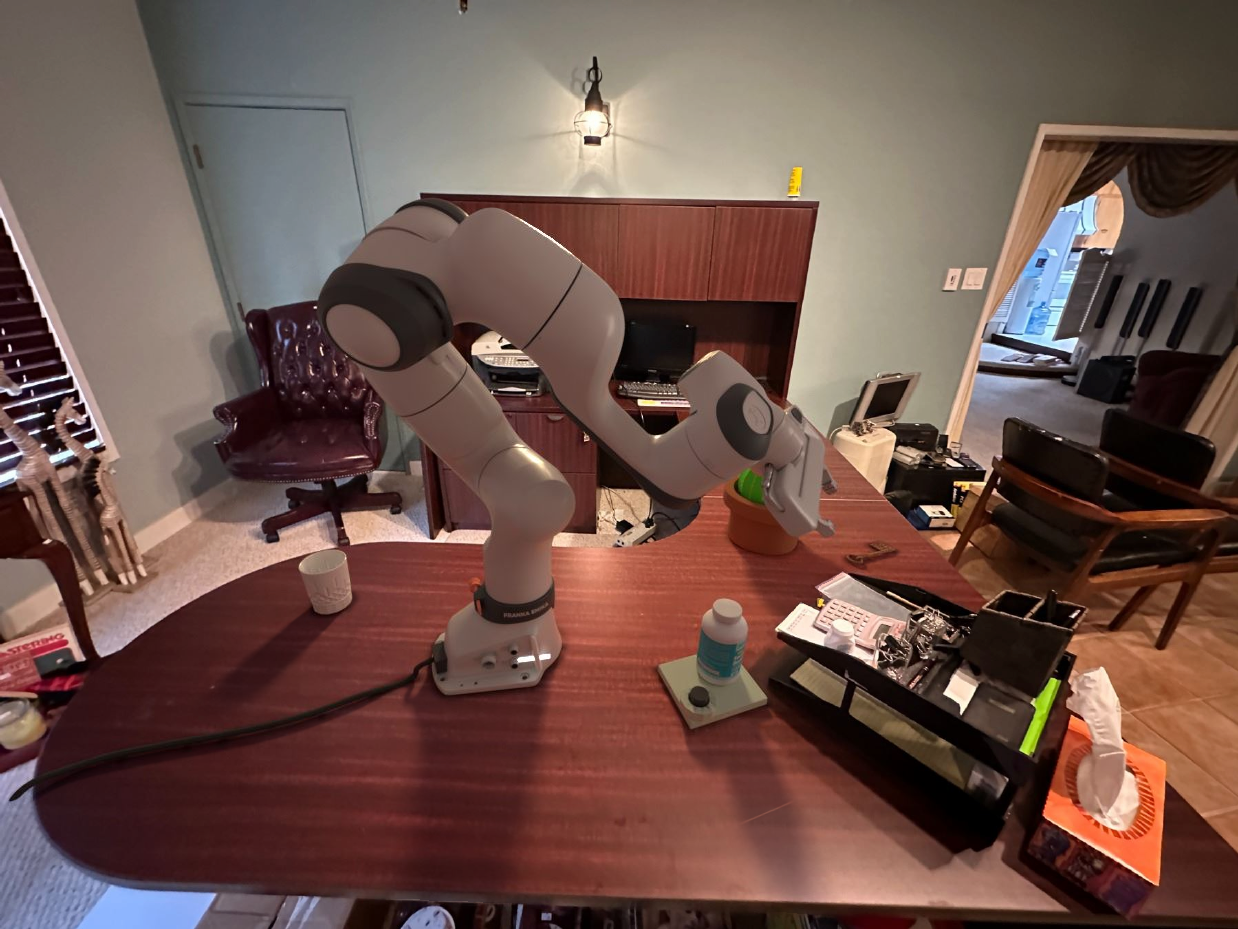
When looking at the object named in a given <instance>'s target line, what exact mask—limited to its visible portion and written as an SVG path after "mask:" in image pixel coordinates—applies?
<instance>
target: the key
mask: <svg viewBox="0 0 1238 929" xmlns="http://www.w3.org/2000/svg"><path fill="white" fill-rule="evenodd" d="M869 545H870V547H873V548H874V549H877V550H878V551H875V552H870V553H865V554H861V555H859V556H858V555H855V554H848V555H846V559H847V560H848V561H849V562H851V563H852V564H856V565H861V564H863V563H864V559H869V558H871V557H876V556H879V555H880V556H881V555H883V554H887V553H891V552H895V551H897V547H891V546H889V545H887V544H885V543H884V542H882V541H878V542H874V543H870V544H869ZM852 558H854V559H855V560H854V559H852ZM858 560H859V561H858Z"/></svg>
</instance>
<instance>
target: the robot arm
mask: <svg viewBox="0 0 1238 929" xmlns="http://www.w3.org/2000/svg"><path fill="white" fill-rule="evenodd" d="M316 316H317V320H318V323H319V325H320V328H321V329H322V331H323V333H324V335H325V336H326V338H328V340H329V341H330V342H331V343H332V344H333V346H335V348H336V349H337V350H338V351H339V352H340V353H342V354H343V355H344V356H345V357H347V358H348V359H349V360H351V361H352V362H354V363H355V365H356V366H357V368H358V369H359V371H360V372H361V373H362V375H363V376H364V378H365V379H366V380H367V382H368V383H369V385H370V386H371V387H372V388H373V390H374V391H375V393H376V394H377V395H378V396H379V398H381V400H383V402H384V403H385V404H386V405H387V407H389V408H390V409H391V411H392V412H393V413H394V414H395V415H396V416H397V417H398V418H399V419H400V420H401V421H402V422H403V423H404V424H405V425H406V426H407V427H408V428H409V429H410V430H411V431H412V432H413V433H414V434H415V435H416V436H417V437H418V438H419V439H420V440H421V441H422V442H423V443H424V444H425V445H426V446H427V447H428V449H430V451H432V453H434V454H435V456H437V457H438V458H439V459H440V460H441V461H442V462H443V463H444V464H446V466H447V467H448V468H449V469H450V470H452V472H454V474H456V476H458V477H459V479H461V480H462V481H463V483H465V485H467V486H468V488H470V490H471V491H472V492H473V493H474V494H475V495H476V496H477V497H478V498H479V500H480V501H481V502H482V503H483V504H484V505H485V507H486V509H487V512H488V514H489V517H490V521H491V529H490V535H488V537H487V538H486V539H485V541H484V543H483V545H482V548H481V552H482V562H483V576H484V581H483V582H481V579H480V578H479V577H472V578H470V579H469V581H468V587H469V589H468V590H469V592H470V593H472V594H473V596H472V597H473V600H472V601H471V602H470V603H468V604H467V605H466V606H464V607H463V608H461V609H460V610H459V611H457V612H456V613H454V614H453V615H452V616H451V617H450V619H449V620H448V622H447V625H446V627H445V631H444V632H442V633H440V634H439V636H438V637H437V638H436V640H435V643H434V644H431V645H430V646H431V648H430V649H431V657H430V658H427V659H425V660H423V661H420V662H419V663H418V664H417V665H415V666H414V667H413V671H412V673H411V674H410V675H408V676H406V677H405V678H403V679H400V680H399V681H395V682H393V683H389V684H386V685H383V686H378V687H376V688H370V689H367V690H364V691H362V692H358V693H356V694H353V695H351V696H348V697H345V698H342V699H339V700H336V701H334V702H331V703H328V704H326V705H323V706H320V707H317V708H314V709H311V710H308V711H305V712H301V713H298V714H295V715H294V714H293V715H291V716H286V717H284V718H279V719H276V720H271V721H266V722H263V723H258V724H253V725H252V724H251V725H248V726H242V727H238V728H232V729H228V730H223V731H218V732H212V733H205V734H200V735H192V736H187V737H181V738H176V739H175V738H174V739H170V740H165V741H159V742H155V743H150V744H149V743H148V744H143V745H139V746H134V747H128V748H123V749H118V750H114V751H109V752H107V753H103V754H99V755H96V756H93V757H90V758H89V757H88V758H86V759H83V760H79V761H77V762H74V763H70V764H67V765H64V766H61V767H58V768H55V769H53V770H49V771H46V772H44V773H42V774H40V775H38V776H35V777H33V778H32V779H29V780H28V781H27V782H25V783H24V784H22V785H21V786H19V787H18V788H17V789H16V790H15V791H14V792H13V794H12V795H11V796H10V797H9V799H8V802H9V803H11V802H14V801H16V800H18V799H20V798H21V797H22V796H23V795H24V794H25V793H26V792H28V791H29V790H30V789H32V788H33V787H35V786H37V785H38V784H41V783H43V782H45V781H48V780H50V779H52V778H55V777H59V776H61V775H65V774H68V773H71V772H73V771H76V770H80V769H83V768H86V767H89V766H93V765H95V764H99V763H102V762H105V761H109V760H113V759H118V758H121V757H126V756H131V755H137V754H142V753H147V752H152V751H159V750H162V749H168V748H174V747H178V746H183V745H190V744H196V743H203V742H208V741H214V740H220V739H225V738H231V737H234V736H238V735H239V736H240V735H244V734H249V733H254V732H260V731H264V730H268V729H273V728H277V727H280V726H285V725H288V724H292V723H295V722H299V721H302V720H305V719H309V718H311V717H314V716H317V715H322V714H323V713H327V712H329V711H332V710H335V709H337V708H340V707H343V706H346V705H348V704H351V703H354V702H355V701H356V702H357V701H358V700H361V699H364V698H367V697H371V696H375V695H378V694H381V693H385V692H387V691H390V690H393V689H395V688H398V687H401V686H404V685H406V684H408V683H410V682H412V681H414V679H416V678H417V677H418V676H419V674H420V670H422V669H423V668H425V667H426V666H429V665H431V671H432V677H433V681H434V683H435V685H436V687H437V689H438V690H439V691H440V692H441V693H442V694H443V695H445V696H458V695H466V694H474V693H475V694H476V693H484V692H492V691H493V692H494V691H503V690H511V689H519V688H520V689H522V688H530V687H534V686H536V685H538V684H539V683H540V681H541V679H542V677H543V675H544V673H545V671H546V670H547V669H548V668H549V667H550V666H551V665H553V663H554V662H555V661H556V660H557V658H558V657H559V655H560V653H561V651H562V648H563V640H562V639H563V638H562V634H561V633H560V630H559V628H558V625H557V621H556V615H555V611H554V610H555V605H556V604H555V603H556V602H555V601H556V584H555V579H554V577H553V575H552V574H553V573H552V571H553V570H552V550H553V549H552V548H553V542H554V538H555V537H556V536H558V535H559V534H560V533H562V532H563V531H564V529H566V527H567V526H568V525H569V523H570V522H571V520H572V519H573V516H574V513H575V510H576V505H577V504H576V496H575V492H574V490H573V488H572V487H571V485H570V483H568V481H567V479H566V478H565V477H564V475H563V474H562V472H561V471H560V470H559V469H558V468H557V467H556V466H554V465H553V464H552V463H551V462H550V461H548V460H547V459H545V458H544V457H542V456H541V455H540V454H538V453H537V452H536V451H535V450H533V449H532V448H531V446H529V445H528V444H527V443H526V442H525V441H524V440H523V439H522V438H521V437H520V436H519V435H518V434H517V433H516V431H515V430H514V428H513V427H512V425H511V424H510V422H509V421H508V419H507V418H506V416H505V413H504V412H503V408H502V406H501V404H500V403H499V401H498V400H497V399H496V398H495V396H494V395H493V394H492V392H490V389H488V388H487V386H486V385H485V384H484V382H483V381H482V380H481V378H480V377H479V376H478V374H476V372H475V370H474V369H473V368H472V367H471V365H470V364H469V362H467V361H466V360H465V358H464V357H463V356H462V354H461V353H460V352H459V351H458V350H457V348H456V347H455V346H454V344H452V341H453V340H454V338H455V326H456V325H459V324H463V323H474V324H478V325H482V326H485V327H486V328H488V329H490V331H493V332H494V333H496V334H498V335H499V336H500V337H501V338H503V339H504V340H506V341H507V342H508V343H509V344H510V345H512V346H513V347H515V348H517V349H518V350H519V351H520V352H522V353H523V354H524V355H526V356H527V357H528V358H529V359H531V361H533V363H534V364H536V365H537V367H539V369H540V370H541V372H542V373H543V374H544V375H545V377H546V379H547V380H548V382H549V393H550V395H551V397H552V399H553V401H554V403H555V404H556V406H557V407H558V408H559V409H560V410H561V411H562V413H563V414H564V415H565V416H566V417H567V418H568V419H569V420H570V421H571V422H572V423H573V424H574V425H575V426H577V428H578V429H579V430H581V431H582V432H583V434H585V435H586V436H587V437H588V438H589V439H591V440H592V441H593V442H594V443H595V444H596V445H597V446H598V447H599V448H601V450H603V451H604V452H605V453H606V454H607V455H608V456H610V457H611V458H612V459H613V460H614V461H615V462H616V463H617V464H618V465H620V466H621V467H622V468H623V469H624V470H625V471H626V472H627V473H628V474H629V475H630V476H631V477H632V478H633V479H634V480H635V482H636V483H637V484H638V486H639V488H641V490H642V491H643V492H644V493H645V494H646V496H648V497H649V499H650V500H651V501H653V502H654V503H655V504H658V505H659V506H662V507H664V508H667V509H669V510H674V511H684V510H686V509H688V508H690V507H692V506H693V505H694V504H696V503H697V502H698V501H700V500H701V499H702V498H704V497H705V496H706V495H707V494H708V493H710V492H712V491H714V490H716V489H718V488H719V487H721V486H722V485H725V483H726V482H727V481H729V480H731V479H733V478H734V477H735V476H737V475H738V474H740V473H742V472H743V471H745V470H747V469H750V470H751V471H752V472H753V473H754V474H755V475H757V476H763V479H762V481H761V488H762V489H763V501H764V503H765V505H766V507H767V508H768V510H769V511H770V513H771V514H772V515H773V517H774V518H775V519H776V520H777V521H778V523H779V524H780V525H781V526H782V527H783V529H784V530H785V531H786V532H787V533H788V534H789V535H790V536H793V537H798V538H799V537H802V536H804V535H807V534H810V533H812V532H814V531H816V532H817V533H819V534H820V536H822V537H823V538H826V539H827V538H830V537H833V536H834V535H835V532H836V530H835V529H836V528H835V527H836V526H835V524H834V523H833V522H832V521H831V520H830V519H829V518H827V519H822V515H821V514H820V504H821V493H822V491H823V492H824V493H825V494H826V495H828V496H831V495H833V494H835V493H837V492H838V489H839V488H838V486H839V484H838V483H837V481H836V480H835V479H834V478H833V476H832V473H831V472H830V470H829V468H828V466H827V465H826V463H825V456H826V444H825V443H824V440H823V439H822V437H821V436H820V434H819V433H818V432H817V431H816V429H815V428H814V427H813V426H812V425H811V424H810V422H809V421H808V420H807V419H806V418H804V413H803V411H802V410H801V408H800V407H799V406H798V405H797V404H792V405H790V406H788V407H787V408H785V409H783V408H782V407H781V406H780V405H777V404H776V403H775V402H773V401H772V400H770V398H769V396H768V395H767V393H766V391H765V389H764V387H763V386H762V384H760V383H759V382H758V381H757V379H756V378H755V377H753V375H752V374H751V373H750V372H749V371H747V369H746V368H744V367H743V365H741V364H740V363H739V362H738V361H736V360H735V359H734V358H733V357H731V355H728V354H727V353H725V352H724V351H723V350H720V349H718V350H713V351H711V352H708V353H707V354H706V355H704V356H703V357H701V359H700V360H699V361H697V362H696V363H695V364H693V365H692V366H691V367H690V368H689V369H687V370H686V371H685V372H683V373H682V375H681V376H679V378H678V381H677V384H676V386H677V388H678V390H679V392H680V393H681V394H682V396H683V397H684V399H685V400H686V401H687V403H688V404H689V413H688V414H689V416H687V417H686V418H685V419H683V420H682V421H681V422H679V423H678V424H676V425H675V426H674V427H672V428H671V429H669V430H668V431H667V432H665V433H662V434H657V435H656V434H655V435H654V434H650V433H648V432H647V431H646V430H645V429H644V428H643V427H642V426H641V425H640V424H639V423H638V422H637V421H635V419H634V418H632V416H630V414H628V412H627V411H625V410H624V408H622V406H621V405H620V404H619V403H617V401H615V399H614V398H613V397H612V395H611V392H610V389H609V382H610V381H611V378H612V375H613V372H614V370H615V367H616V365H617V363H618V360H619V357H620V354H621V351H622V347H623V343H624V338H625V330H626V323H625V314H624V311H623V307H622V304H621V301H620V299H619V297H618V295H617V294H616V293H615V291H614V290H613V289H612V287H611V286H610V285H609V284H608V283H607V282H606V281H605V280H604V279H603V278H602V277H600V276H599V275H598V274H597V273H596V272H595V271H594V270H593V269H591V268H590V267H589V266H588V265H586V263H584V262H583V261H581V259H580V258H578V257H577V256H575V255H574V254H573V253H572V252H570V251H569V250H568V249H567V248H566V247H565V246H563V245H561V244H560V243H558V242H557V241H556V240H554V239H553V238H551V237H550V236H548V235H547V234H546V233H544V232H542V231H541V230H539V229H538V228H536V227H535V226H533V225H532V224H530V223H528V222H527V221H524V220H523V219H521V218H519V217H517V216H516V215H513V214H512V213H510V212H508V211H506V210H504V209H501V208H497V207H485V208H482V209H479V210H477V211H475V212H473V213H471V214H468V213H467V212H466V211H464V210H463V209H462V208H461V207H459V205H456V204H454V203H453V202H451V201H448V200H445V199H442V198H438V197H425V198H419V199H416V200H412V201H410V202H408V203H405V204H404V205H402V206H400V207H398V208H397V210H396V211H395V212H394V213H393V214H392V215H391V216H389V217H387V218H386V219H385V220H383V221H382V222H380V223H379V224H377V225H376V226H375V227H373V228H372V229H370V231H369V232H367V233H366V234H365V236H364V237H363V238H362V239H361V241H360V243H359V244H358V245H357V246H356V247H355V249H354V250H353V251H352V252H351V253H350V254H349V255H348V257H347V258H346V259H345V261H344V262H343V263H342V265H339V266H337V267H336V268H334V270H333V271H332V272H331V273H330V274H329V276H328V277H327V279H326V281H325V282H324V284H323V285H322V288H321V290H320V293H319V295H318V297H317V302H316ZM481 583H482V584H481ZM34 778H35V779H34Z"/></svg>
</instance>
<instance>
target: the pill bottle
mask: <svg viewBox="0 0 1238 929" xmlns="http://www.w3.org/2000/svg"><path fill="white" fill-rule="evenodd" d="M748 626H749V625H748V623H747V620H746V618H745V617H744V615H743V608H742V605H741V604H740V603H738V602H737V601H735V600H733V599H730V598H719V599H716V600H715V601H714V602H713V603H712V608H710V609H709V610H707V611H706V612H705V613H704V614H703V616H702V618H701V625H700V632H699V638H698V647H697V652H696V654H697V659H696V668H697V671H698V673H699V674H700V675H701V677H702V678H704V679H705V680H706V681H708V682H710V683H712V684H715V685H729V684H731V683H733V682H734V681H736V679H737V678H738V676H739V673H740V668H741V664H742V663H743V659H744V658H743V657H744V652H745V647H746V642H747V637H748V632H749V627H748Z"/></svg>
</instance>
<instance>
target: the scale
mask: <svg viewBox="0 0 1238 929" xmlns="http://www.w3.org/2000/svg"><path fill="white" fill-rule="evenodd" d="M696 659H697V653H696V654H693V655H689V656H685V657H682V658H678V659H673V660H671V661H667V662H664V663H660V664H658V665H657V672H658V675H659V676H660V678H661V680H662V681H663V683H664V685H665V687H666V688H667V690H668V692H669V694H670V695H671V697H672V699H673V701H674V703H675V705H676V706H677V708H678V710H679V712H680V713H681V715H682V717H683V719H684V720H685V722H686V724H687V725H688V728H689V729H690V730H693V729H697V728H699V727H702V726H705V725H708V724H711V723H713V722H717V721H720V720H723V719H727V718H729V717H733V716H735V715H738V714H741V713H744V712H748V711H750V710H753V709H757V708H759V707H762V706H765V705H767V703H768V697H767V695H766V694H765V693H764V692H763V690H762V689H761V688H760V686H759V685H758V684H757V682H756V681H755V680H754V678H753V676H751V674H750V673H749V672H748V671H747V669H746V668H745V666H744V665H743V664H742V663H741V668H740V673H739V676H738V678H737V679H736V681H734V682H733V683H731V684H729V685H715V684H712V683H710V682H708V681H706V680H705V679H704V678H702V677H701V675H700V674H699V673H698V671H697V668H696ZM695 686H702V687H704V688H705V689H706V690H707V691H708V693H709V697H708V703H707V705H706V706H705V707H702V708H700V707H695V706H694V705H692V703H691V702H690V693H691V689H692V688H693V687H695Z"/></svg>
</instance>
